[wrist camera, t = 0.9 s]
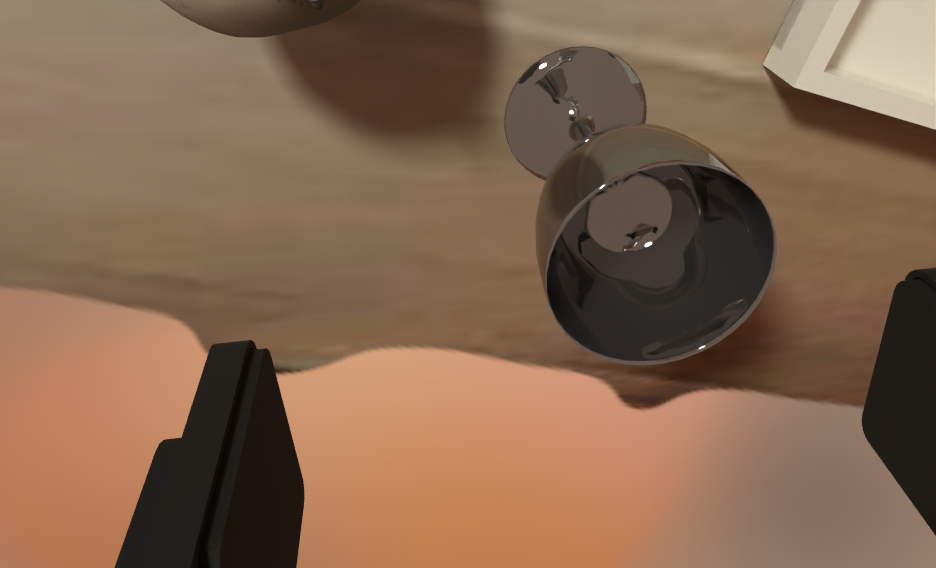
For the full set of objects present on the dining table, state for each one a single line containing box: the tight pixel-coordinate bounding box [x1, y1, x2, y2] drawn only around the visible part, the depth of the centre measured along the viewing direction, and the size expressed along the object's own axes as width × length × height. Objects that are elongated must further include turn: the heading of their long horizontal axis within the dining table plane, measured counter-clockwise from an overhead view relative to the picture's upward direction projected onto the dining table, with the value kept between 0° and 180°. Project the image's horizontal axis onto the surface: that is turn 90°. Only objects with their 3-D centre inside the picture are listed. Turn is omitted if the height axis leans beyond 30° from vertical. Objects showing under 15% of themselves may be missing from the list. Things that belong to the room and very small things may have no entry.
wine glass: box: [505, 46, 777, 365], centre depth 33 cm, size 8×8×15 cm
